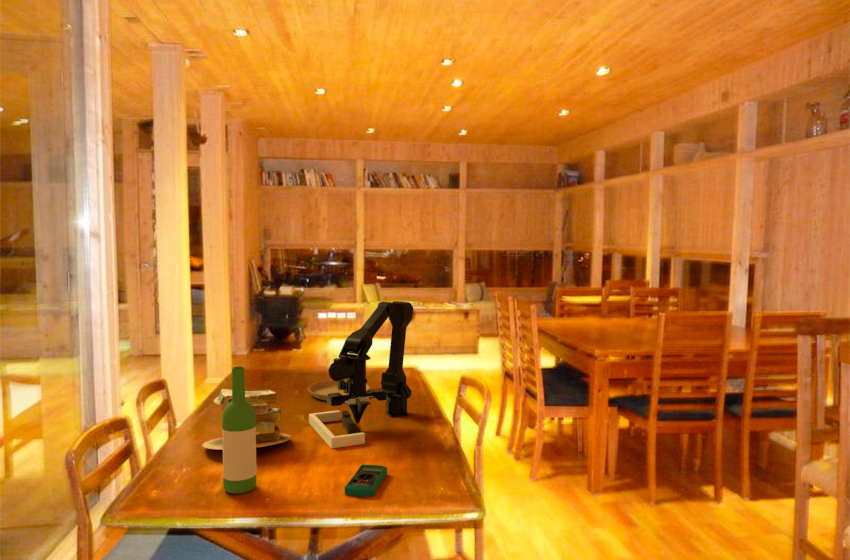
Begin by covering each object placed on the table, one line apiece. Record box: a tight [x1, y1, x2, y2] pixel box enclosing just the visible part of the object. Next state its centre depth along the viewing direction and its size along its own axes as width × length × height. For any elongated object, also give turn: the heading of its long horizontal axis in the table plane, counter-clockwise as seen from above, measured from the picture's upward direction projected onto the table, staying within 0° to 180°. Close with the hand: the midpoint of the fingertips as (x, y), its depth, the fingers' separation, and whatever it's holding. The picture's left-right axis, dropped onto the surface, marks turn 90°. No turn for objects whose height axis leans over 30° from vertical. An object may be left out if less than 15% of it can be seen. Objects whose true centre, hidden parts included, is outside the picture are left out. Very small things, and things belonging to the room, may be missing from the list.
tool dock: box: [308, 410, 366, 449], centre depth 189 cm, size 10×27×3 cm, turn 25°
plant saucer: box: [307, 379, 370, 402], centre depth 235 cm, size 24×24×3 cm
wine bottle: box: [221, 366, 257, 495], centre depth 145 cm, size 8×8×30 cm
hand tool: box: [341, 409, 362, 434], centre depth 191 cm, size 19×4×5 cm, turn 15°
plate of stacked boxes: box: [201, 388, 292, 451], centre depth 175 cm, size 25×25×17 cm
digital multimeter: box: [344, 464, 388, 498], centre depth 149 cm, size 7×15×3 cm, turn 170°
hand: (357, 423), depth 191 cm, fingers closed
